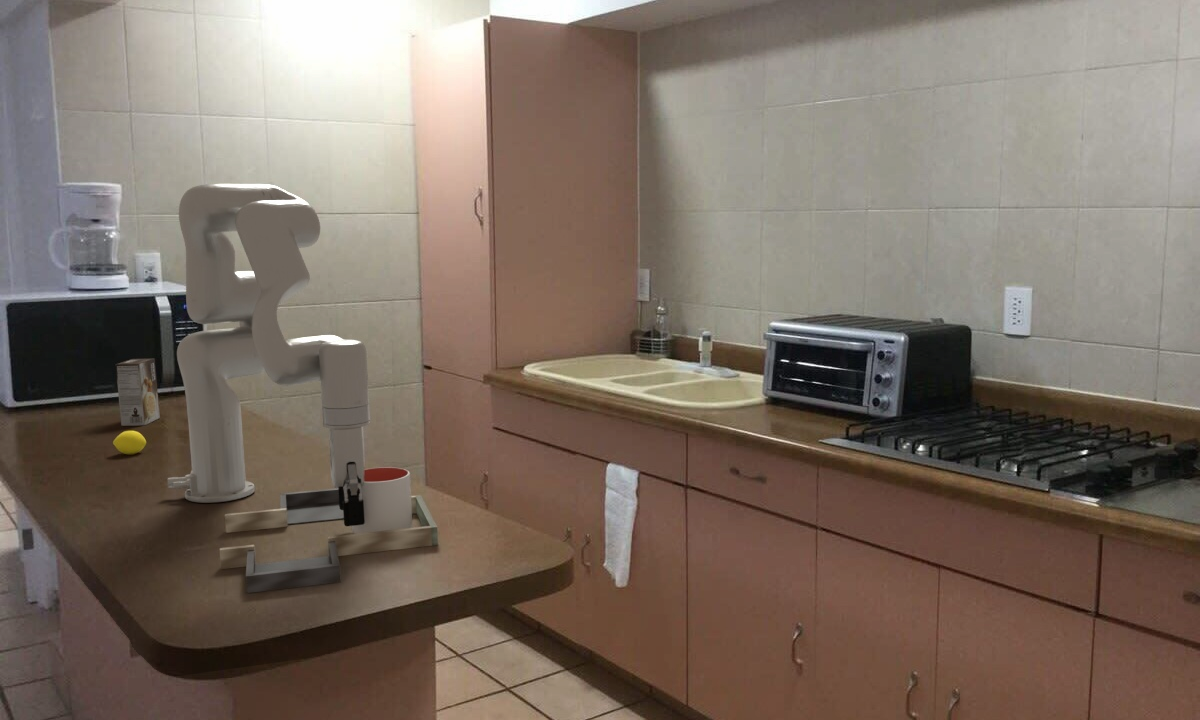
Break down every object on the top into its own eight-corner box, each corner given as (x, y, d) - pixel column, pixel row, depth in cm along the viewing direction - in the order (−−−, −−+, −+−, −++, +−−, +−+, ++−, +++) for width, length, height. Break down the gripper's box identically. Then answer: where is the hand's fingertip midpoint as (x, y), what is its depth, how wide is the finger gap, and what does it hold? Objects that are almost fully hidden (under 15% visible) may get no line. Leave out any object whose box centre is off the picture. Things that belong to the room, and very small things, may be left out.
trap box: (217, 596, 149) (215, 576, 149) (229, 511, 191) (227, 495, 190) (449, 569, 159) (449, 549, 158) (412, 494, 200) (412, 478, 200)
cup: (360, 545, 171) (357, 485, 169) (345, 529, 179) (341, 472, 178) (420, 535, 175) (417, 477, 174) (402, 520, 184) (399, 464, 183)
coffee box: (136, 418, 278) (131, 358, 276) (160, 418, 278) (155, 358, 276) (120, 426, 269) (114, 363, 267) (145, 425, 269) (140, 363, 267)
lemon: (143, 452, 242) (145, 428, 242) (147, 456, 238) (149, 432, 237) (110, 452, 238) (111, 428, 238) (113, 456, 234) (115, 432, 233)
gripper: (319, 408, 180) (325, 505, 182) (326, 427, 164) (332, 534, 166) (364, 404, 182) (369, 500, 185) (375, 423, 166) (380, 529, 168)
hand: (351, 516), depth 175 cm, fingers open, 9 cm apart
